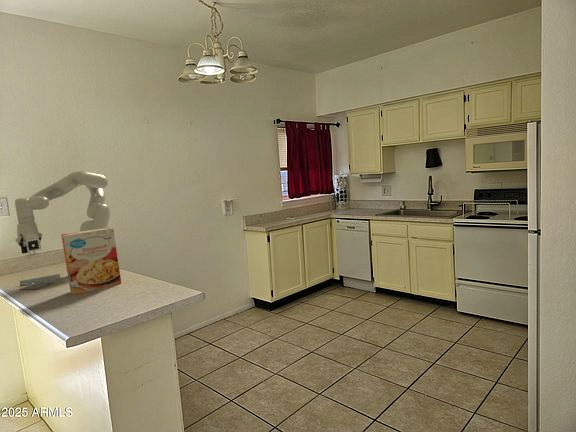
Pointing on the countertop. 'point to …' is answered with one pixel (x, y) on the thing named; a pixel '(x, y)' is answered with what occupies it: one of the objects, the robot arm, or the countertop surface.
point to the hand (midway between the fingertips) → (31, 251)
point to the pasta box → (91, 260)
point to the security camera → (32, 247)
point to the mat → (37, 285)
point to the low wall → (40, 279)
